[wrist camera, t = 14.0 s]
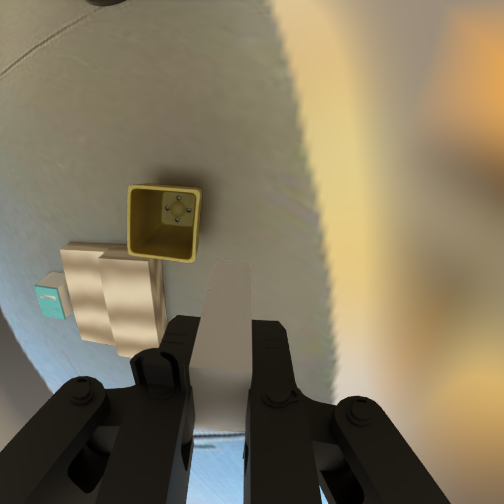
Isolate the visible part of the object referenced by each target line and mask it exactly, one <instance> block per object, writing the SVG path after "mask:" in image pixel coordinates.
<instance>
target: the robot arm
mask: <svg viewBox="0 0 504 504" xmlns="http://www.w3.org/2000/svg"><path fill="white" fill-rule="evenodd" d="M86 1H87V2H89V3H90V4H92V5H96V6H108V5H113V4H117V3H120V2H123V1H125V0H86ZM130 365H131V369H132V373H133V376H134V380H135V384H136V385H134V386H131V387H126V388H115V389H104V387H103V385H102V383H101V382H99V381H98V380H97V379H95V378H92V377H89V376H79V377H76V378H72V379H70V380H69V381H67V382H66V383H65V384H63V386H62V387H61V388H60V389H59V390H58V391H57V392H56V393H55V394H54V395H53V396H52V397H51V398H50V399H49V400H48V401H47V402H46V403H45V404H44V406H42V407H41V408H40V409H39V411H38V412H37V413H36V414H35V415H34V416H33V417H32V418H31V419H30V420H29V421H28V422H27V424H25V426H24V427H23V428H22V429H21V430H20V431H19V432H18V433H17V434H16V435H15V436H14V438H13V439H12V440H11V441H10V442H9V443H8V444H7V445H6V446H5V448H4V449H3V450H2V451H1V452H0V504H186V499H187V491H188V483H189V475H190V468H191V460H192V453H193V446H194V441H193V429H194V423H195V428H197V429H207V430H218V431H232V432H245V445H244V453H243V459H244V504H322V500H321V493H320V487H321V489H322V491H323V493H324V495H325V497H326V500H327V502H328V504H451V503H450V502H449V500H448V499H447V498H446V496H445V495H444V493H443V492H442V491H441V489H440V488H439V486H438V485H437V484H436V482H435V481H434V479H433V478H432V477H431V475H430V474H429V472H428V471H427V470H426V468H425V467H424V465H423V464H422V463H421V461H420V460H419V459H418V457H417V456H416V455H415V453H414V452H413V450H412V449H411V447H410V446H409V445H408V443H407V442H406V441H405V439H404V438H403V437H402V435H401V434H400V432H399V431H398V430H397V428H396V427H395V426H394V424H393V423H392V421H391V420H390V419H389V417H388V416H387V415H386V414H385V412H384V411H383V409H382V408H381V407H380V406H379V405H378V404H377V403H376V402H375V401H373V400H371V399H369V398H367V397H362V396H351V397H347V398H345V399H343V400H341V401H340V402H339V403H338V404H337V406H336V405H331V404H326V403H321V402H318V401H314V400H312V399H310V398H308V397H306V396H305V395H304V394H303V393H302V392H301V390H300V389H299V388H297V385H296V383H295V378H294V372H293V366H292V361H291V355H290V351H289V344H288V338H287V333H286V329H285V328H284V327H283V326H282V325H281V323H280V322H279V321H267V320H252V319H251V262H240V261H225V260H216V262H215V265H214V269H213V273H212V277H211V280H210V284H209V288H208V292H207V296H206V300H205V304H204V307H203V311H202V315H201V317H193V316H183V315H177V316H176V317H175V318H173V319H172V320H171V321H170V322H169V323H168V325H167V328H166V330H165V334H164V335H163V338H162V340H161V343H160V345H159V348H150V349H146V350H142V351H141V352H139V353H137V354H136V355H134V357H133V358H132V359H131V360H130ZM319 485H320V487H319Z"/></svg>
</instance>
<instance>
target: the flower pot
mask: <svg viewBox="0 0 504 504" xmlns="http://www.w3.org/2000/svg"><path fill="white" fill-rule="evenodd" d="M178 196H180V197H181V199H180V200H178V199H177V197H178ZM201 202H202V189H201V188H197V187H183V186H170V185H159V184H136V185H130V186H129V188H128V203H127V247H128V253H129V255H132V256H139V257H148V258H157V259H164V260H172V261H179V262H188V263H191V262H194V261H195V258H196V253H197V248H198V241H199V224H200V212H201ZM166 206H168V207H169V210H167V209H166ZM188 208H190V209H191V211H190V212H188V211H187V209H188ZM176 218H179V221H178V222H177V221H176Z"/></svg>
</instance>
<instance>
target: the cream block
mask: <svg viewBox="0 0 504 504" xmlns="http://www.w3.org/2000/svg"><path fill="white" fill-rule="evenodd" d="M34 287H35V291H36V294H37V298H38V301H39V305H40V308H41V311H42V314H43V316H48V317H53V318H58V319H63V320H65V319H66V318H67V317H68V316H69V314H70V313H71V312H72V311H73V307H72V303H71V299H70V295H69V291H68V286H67V282H66V277H65V273H56V272H51V273H50V274H48V275H47V276H46V277H45V278H43V279H42V280H41V281H40V282H39V283H37V284H36V285H35V286H34Z"/></svg>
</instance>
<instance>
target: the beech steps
mask: <svg viewBox="0 0 504 504" xmlns="http://www.w3.org/2000/svg"><path fill="white" fill-rule="evenodd" d="M60 252H61V257H62V263H63V268H64V273H65V277H66V282H67V286H68V291H69V295H70V299H71V303H72V307H73V310H74V314H75V318H76V321H77V325H78V328H79V331H80V334H81V338H82V340H87V341H92V342H98V343H103V344H109V345H115V346H116V348H117V352H118V356H124V357H131V358H133V357H134V355H136V354H137V353H139V352H141V351H142V350H146V349H150V348H159V345H160V343H161V340H162V338H163V335H164V334H165V330H166V328H167V325H168V324H167V316H166V307H165V297H164V287H163V276H162V263H161V259H157V258H148V257H139V256H132V255H129V253H128V247H127V245H125V244H101V243H78V242H70V243H69V244H67V245H66V246H64V247H63V248H61V249H60Z"/></svg>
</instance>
